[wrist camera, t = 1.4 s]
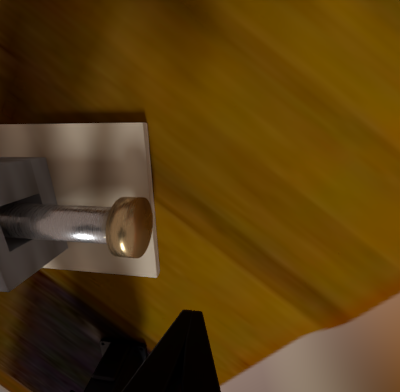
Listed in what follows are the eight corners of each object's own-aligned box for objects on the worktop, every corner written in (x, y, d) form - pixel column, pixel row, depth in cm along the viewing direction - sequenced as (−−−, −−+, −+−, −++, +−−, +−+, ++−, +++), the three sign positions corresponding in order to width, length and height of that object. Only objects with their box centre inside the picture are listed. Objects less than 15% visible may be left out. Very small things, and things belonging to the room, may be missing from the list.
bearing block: (147, 122, 18) (95, 118, 11) (159, 271, 23) (129, 334, 16) (-58, 125, 20) (-204, 123, 14) (-6, 257, 25) (-94, 305, 19)
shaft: (150, 189, 17) (123, 210, 13) (154, 238, 19) (131, 272, 14) (24, 185, 19) (-40, 203, 14) (37, 230, 20) (-17, 259, 16)
